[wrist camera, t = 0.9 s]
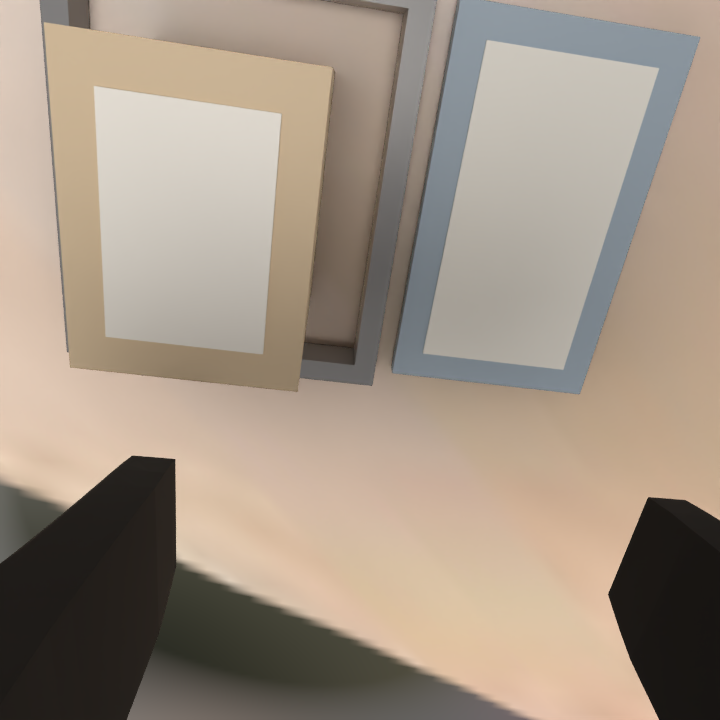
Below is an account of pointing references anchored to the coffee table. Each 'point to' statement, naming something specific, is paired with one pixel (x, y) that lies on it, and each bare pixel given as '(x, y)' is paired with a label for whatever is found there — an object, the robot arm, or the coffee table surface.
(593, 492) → the coffee table surface
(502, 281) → the pad
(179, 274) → the box
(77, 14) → the grey square frame
